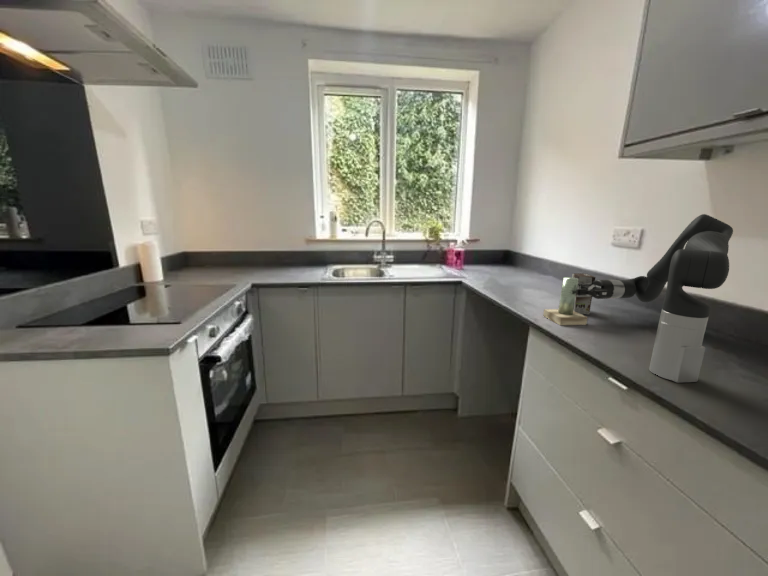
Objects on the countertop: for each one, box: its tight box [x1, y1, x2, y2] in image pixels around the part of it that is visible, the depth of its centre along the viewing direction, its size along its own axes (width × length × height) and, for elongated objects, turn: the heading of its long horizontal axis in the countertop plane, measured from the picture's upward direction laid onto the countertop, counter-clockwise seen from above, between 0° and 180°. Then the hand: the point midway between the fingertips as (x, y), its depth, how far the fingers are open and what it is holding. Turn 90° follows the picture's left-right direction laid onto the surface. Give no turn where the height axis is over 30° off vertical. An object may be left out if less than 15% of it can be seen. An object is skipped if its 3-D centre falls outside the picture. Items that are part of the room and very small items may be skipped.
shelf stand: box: [542, 308, 589, 326], centre depth 137 cm, size 11×11×3 cm
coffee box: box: [571, 272, 596, 315], centre depth 149 cm, size 9×6×16 cm
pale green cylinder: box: [557, 276, 579, 315], centre depth 135 cm, size 5×5×14 cm
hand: (569, 289), depth 135 cm, fingers open, 8 cm apart
